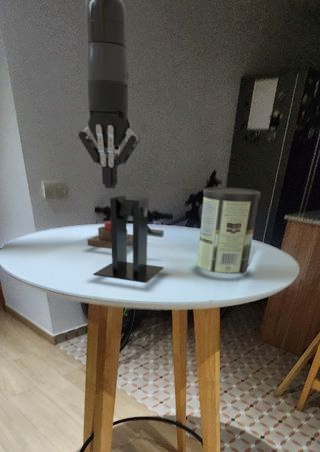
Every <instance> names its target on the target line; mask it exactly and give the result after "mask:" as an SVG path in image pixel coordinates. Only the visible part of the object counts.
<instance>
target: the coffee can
mask: <svg viewBox="0 0 320 452" xmlns="http://www.w3.org/2000/svg"><path fill="white" fill-rule="evenodd" d="M261 196H262V192H261V191H259V190H254V189H250V188H249V189H248V188H239V187H223V186H222V187H218V186H215V187H214V186H213V187H205V188H203V198H202V199H203V200H202V210H201V219H200V220H201V221H200V230H199V231H200V232H199V242H198V251H197V252H198V253H197V262H196V266H197V267H198V268H200V269H202V270H204V271H208V272H212V273H218V274H240V273H243V272H244V273H243V275H242V277H244V276H246V275H247V272H248V265H249V259H250V254H251V248H252V243H253V236H254V232H255V231H254V230H255V225H256V221H257V214H258V209H259V205H260V204H259V202H260V198H261Z"/></svg>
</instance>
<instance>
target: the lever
mask: <svg viewBox="0 0 320 452" xmlns="http://www.w3.org/2000/svg"><path fill="white" fill-rule="evenodd" d="M133 200H134V199H128V198H126V199H122V201H121V207H120V215H121V216H122V217H123V218H124V219H125V220H126V221H129V222H133ZM164 232H165V231H164V230H162V229H152V228H151V227H150V226H149V225H148V224H147V237H156V238H164V234H165V233H164Z"/></svg>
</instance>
